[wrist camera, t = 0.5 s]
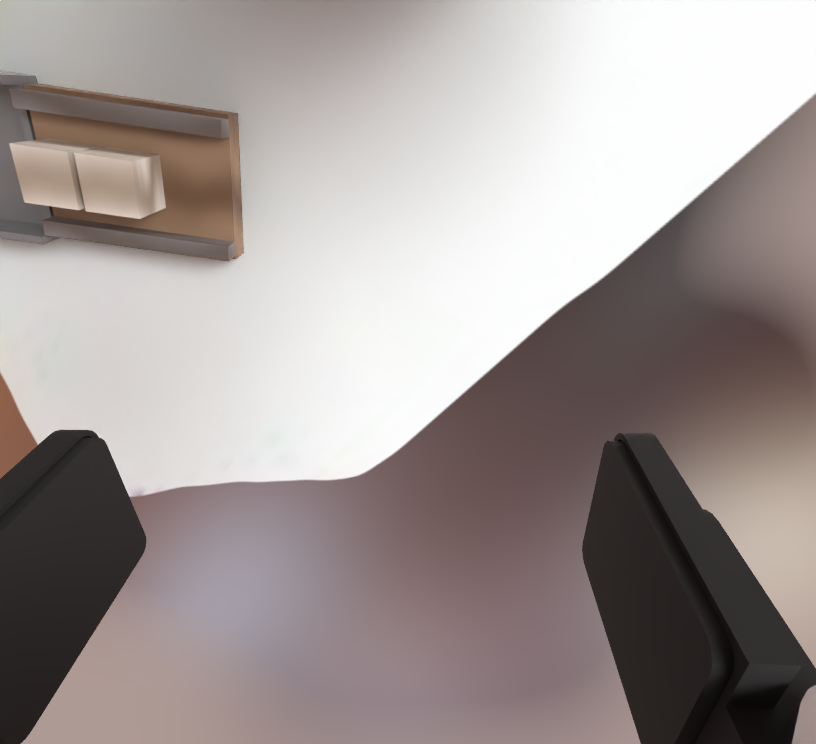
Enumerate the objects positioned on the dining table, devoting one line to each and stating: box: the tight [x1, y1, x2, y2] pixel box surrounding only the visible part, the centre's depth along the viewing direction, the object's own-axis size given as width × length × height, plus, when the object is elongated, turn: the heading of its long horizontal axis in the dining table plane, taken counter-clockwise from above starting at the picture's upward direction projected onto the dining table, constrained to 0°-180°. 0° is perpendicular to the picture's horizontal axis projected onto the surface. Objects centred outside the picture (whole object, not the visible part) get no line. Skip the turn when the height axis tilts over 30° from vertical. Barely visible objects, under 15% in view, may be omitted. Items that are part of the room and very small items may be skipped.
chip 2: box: [74, 147, 166, 219], centre depth 37 cm, size 4×4×4 cm
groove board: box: [9, 84, 244, 261], centre depth 39 cm, size 11×15×4 cm
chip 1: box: [9, 139, 101, 210], centre depth 37 cm, size 4×4×4 cm
